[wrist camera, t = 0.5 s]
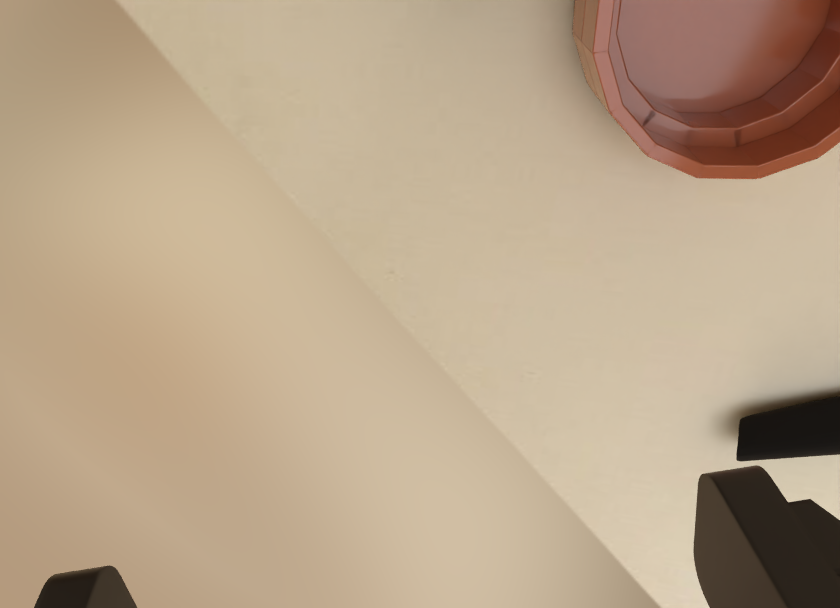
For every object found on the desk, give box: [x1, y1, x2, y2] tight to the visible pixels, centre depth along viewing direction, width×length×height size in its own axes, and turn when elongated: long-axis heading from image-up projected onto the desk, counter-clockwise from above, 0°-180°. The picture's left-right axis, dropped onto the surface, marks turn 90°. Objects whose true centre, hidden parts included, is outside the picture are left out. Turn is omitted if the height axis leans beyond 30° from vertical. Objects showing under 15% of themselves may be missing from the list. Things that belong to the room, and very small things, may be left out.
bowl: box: [572, 0, 840, 179], centre depth 30 cm, size 12×12×6 cm
